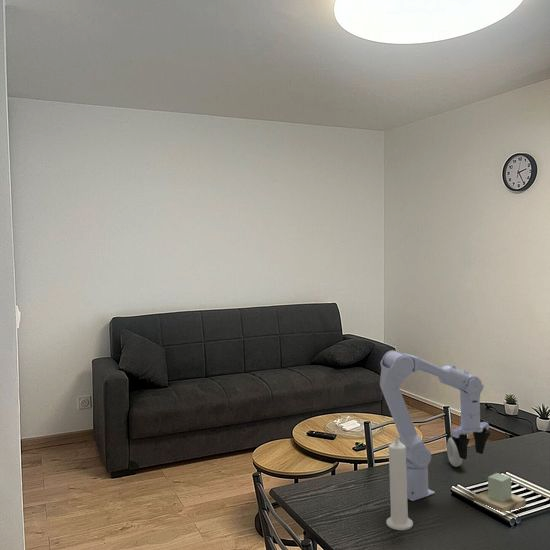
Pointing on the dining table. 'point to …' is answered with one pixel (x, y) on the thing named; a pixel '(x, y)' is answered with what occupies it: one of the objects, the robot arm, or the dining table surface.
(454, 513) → the dining table surface
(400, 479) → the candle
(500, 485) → the sage block
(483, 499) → the maple slab
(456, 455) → the grey flat oval piece
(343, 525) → the dining table surface
